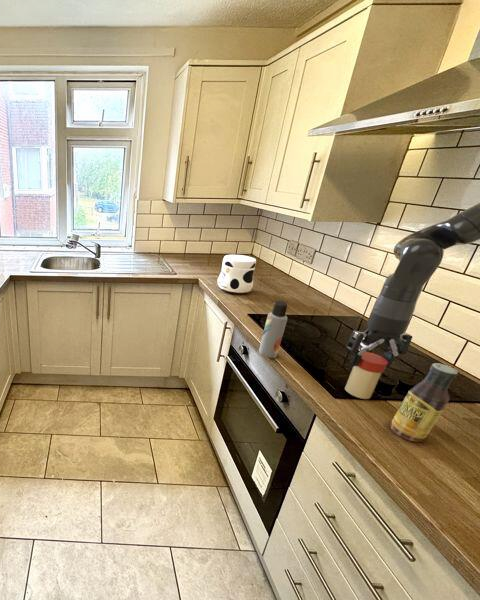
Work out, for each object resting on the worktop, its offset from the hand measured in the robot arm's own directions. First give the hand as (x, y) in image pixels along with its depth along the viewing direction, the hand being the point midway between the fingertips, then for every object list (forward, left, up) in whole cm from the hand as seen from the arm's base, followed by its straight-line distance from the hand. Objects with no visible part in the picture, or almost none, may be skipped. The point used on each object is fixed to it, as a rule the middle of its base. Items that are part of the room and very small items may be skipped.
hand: (368, 365), depth 89 cm
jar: (0, 0, -10) cm, 9 cm away
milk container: (+2, -85, -10) cm, 86 cm away
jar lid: (0, 0, +2) cm, 2 cm away
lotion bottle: (+16, -20, -10) cm, 27 cm away
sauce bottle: (0, +16, -10) cm, 19 cm away
